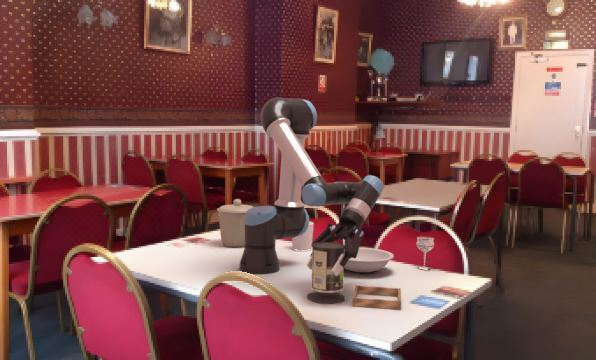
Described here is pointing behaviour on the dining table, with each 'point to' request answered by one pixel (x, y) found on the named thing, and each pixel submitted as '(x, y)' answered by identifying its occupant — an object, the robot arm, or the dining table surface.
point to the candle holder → (304, 239)
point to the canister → (233, 223)
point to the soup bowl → (368, 260)
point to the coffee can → (326, 267)
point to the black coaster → (326, 297)
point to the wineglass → (425, 245)
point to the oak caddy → (377, 302)
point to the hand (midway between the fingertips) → (321, 270)
